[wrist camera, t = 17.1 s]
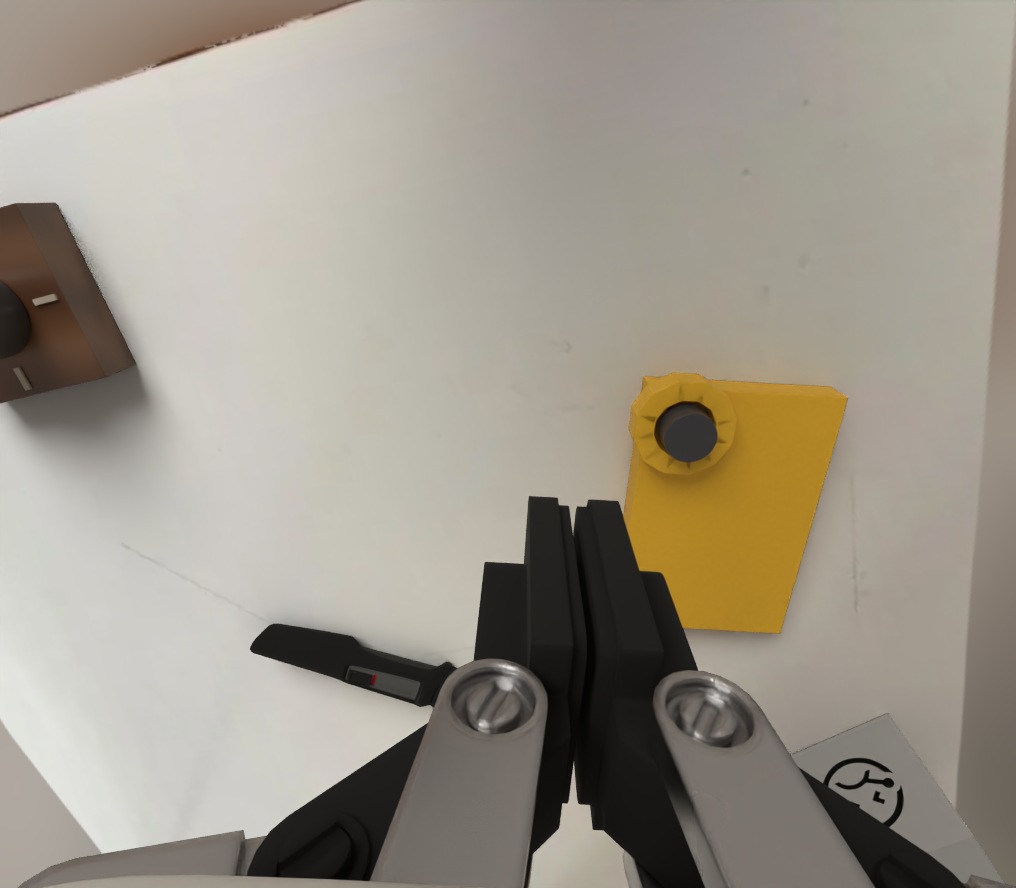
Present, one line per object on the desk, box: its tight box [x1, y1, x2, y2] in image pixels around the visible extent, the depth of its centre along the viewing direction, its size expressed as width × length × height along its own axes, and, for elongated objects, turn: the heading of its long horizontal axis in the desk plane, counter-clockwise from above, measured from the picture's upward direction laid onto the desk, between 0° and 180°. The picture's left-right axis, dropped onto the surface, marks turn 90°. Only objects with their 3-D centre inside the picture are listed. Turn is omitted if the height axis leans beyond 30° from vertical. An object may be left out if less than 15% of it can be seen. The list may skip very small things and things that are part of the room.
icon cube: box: [791, 713, 1003, 883], centre depth 46 cm, size 10×10×10 cm
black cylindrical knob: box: [658, 404, 718, 462], centre depth 34 cm, size 3×3×2 cm
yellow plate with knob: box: [623, 373, 848, 634], centre depth 39 cm, size 19×13×4 cm
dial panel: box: [0, 203, 136, 403], centre depth 35 cm, size 10×10×3 cm
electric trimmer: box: [250, 624, 457, 707], centre depth 46 cm, size 4×16×3 cm, turn 70°
